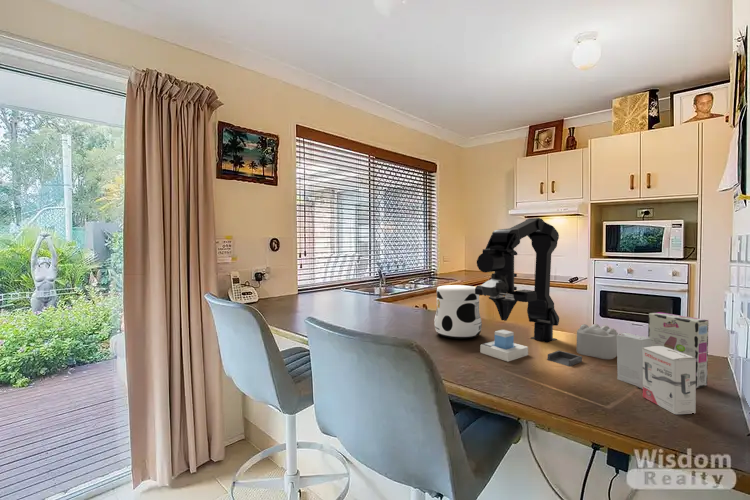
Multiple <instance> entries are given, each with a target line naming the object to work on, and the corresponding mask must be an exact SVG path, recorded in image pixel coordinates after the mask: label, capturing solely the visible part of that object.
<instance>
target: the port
mask: <svg viewBox="0 0 750 500" xmlns="http://www.w3.org/2000/svg"><path fill="white" fill-rule="evenodd" d="M479 349H480V350H479V351H480V354H483V355H486V356H489V357H492V358H495V359H498V360H502V361H505V362H511V361H515V360H517V359H521V358H524V357H527V356H529V346H526V345H523V344H519V343H516V342H514V347H513V348H510V349H502V348H499V347H496V346H495V340H492V341H489V342H485V343H482V344H480V348H479Z"/></svg>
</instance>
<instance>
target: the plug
mask: <svg viewBox="0 0 750 500" xmlns="http://www.w3.org/2000/svg"><path fill="white" fill-rule="evenodd" d="M514 337H515V333H514V331H511V330H507V329H499V330H495V331H494V341H495V346H496V347H499V348H502V349H510V348H513V347H514V343H515V342H514V339H515V338H514Z"/></svg>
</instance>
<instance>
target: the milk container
mask: <svg viewBox="0 0 750 500" xmlns="http://www.w3.org/2000/svg"><path fill="white" fill-rule="evenodd" d="M476 287H477V286H473V285H463V284H452V285H451V284H448V285H447V284H446V285H439V286H437V288H436V312H435V316H434V321H433V322H434V329H435V331H436V332H435V333H437V334H438V335H439V336H442V337H445V338H448V339H449V338H450V339H457V340H459V339H460V340H463V339H464V340H466V339H472V338H475V337H477V336H479V335H480V333H481V332H482V328H483V327H482V326H483V324H482V323H483V322H482V316H481V313H480V295H477V294H475V288H476Z"/></svg>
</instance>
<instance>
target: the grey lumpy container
mask: <svg viewBox="0 0 750 500" xmlns="http://www.w3.org/2000/svg"><path fill="white" fill-rule="evenodd" d="M579 327H580V328H578V329H577V330H576V353H577V354H578V355H581V356H587V357H588V356H589V357H593V358H596V359H600V360H601V359H602V360H613V359H615V358H616V357H617V335H618V334H619V333H618V331H617V329H615V328H610V326H608V325H607V324H606V325H602V326H601V325H599V324H597V323H594V324H592V325H590V326H589V325H588V324H581V325H580V326H579Z"/></svg>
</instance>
